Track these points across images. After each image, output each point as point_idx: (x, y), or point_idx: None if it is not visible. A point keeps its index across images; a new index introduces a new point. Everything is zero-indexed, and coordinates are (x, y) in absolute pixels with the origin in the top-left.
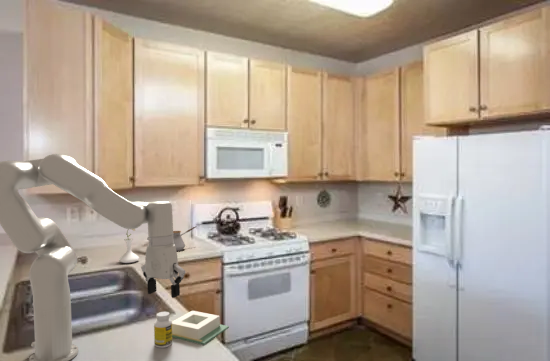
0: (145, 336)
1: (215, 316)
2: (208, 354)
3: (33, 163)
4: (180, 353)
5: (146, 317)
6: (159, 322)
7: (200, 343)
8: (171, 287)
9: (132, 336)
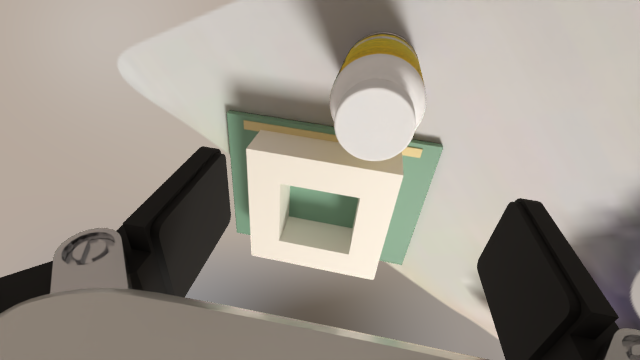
0: (504, 114)
1: (261, 249)
2: (167, 50)
3: None
4: (263, 20)
5: (582, 257)
6: (377, 76)
7: (244, 113)
8: (158, 208)
9: (575, 99)
